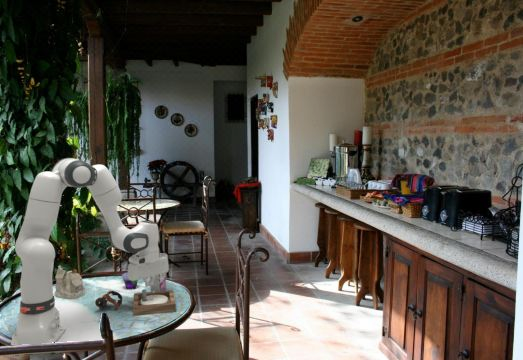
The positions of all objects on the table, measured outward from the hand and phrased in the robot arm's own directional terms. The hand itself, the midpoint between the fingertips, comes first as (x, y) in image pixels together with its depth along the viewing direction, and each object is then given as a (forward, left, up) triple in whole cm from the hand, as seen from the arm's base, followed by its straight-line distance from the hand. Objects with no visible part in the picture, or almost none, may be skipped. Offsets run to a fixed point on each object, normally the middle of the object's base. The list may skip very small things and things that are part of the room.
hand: (148, 285), depth 207 cm
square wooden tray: (-3, -2, -8) cm, 9 cm away
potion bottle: (+25, +9, -9) cm, 28 cm away
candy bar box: (+13, -4, -9) cm, 17 cm away
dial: (-3, -2, -7) cm, 8 cm away
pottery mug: (0, +18, -9) cm, 20 cm away
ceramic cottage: (+24, +36, -9) cm, 44 cm away
